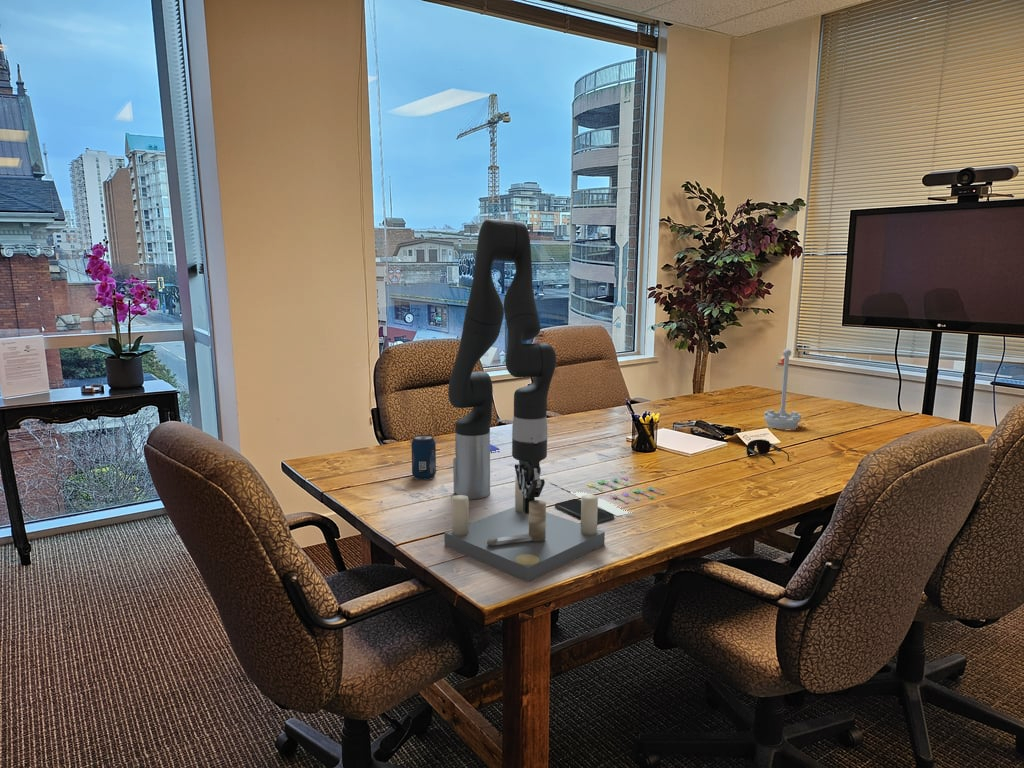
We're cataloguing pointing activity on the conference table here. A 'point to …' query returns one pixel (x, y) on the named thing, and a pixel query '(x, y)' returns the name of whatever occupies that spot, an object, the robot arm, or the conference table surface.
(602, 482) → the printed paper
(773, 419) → the flag stand
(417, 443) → the soda can
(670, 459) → the conference table surface
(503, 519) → the grey square base plate
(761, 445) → the sunglasses
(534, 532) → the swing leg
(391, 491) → the conference table surface
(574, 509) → the phone
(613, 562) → the conference table surface
